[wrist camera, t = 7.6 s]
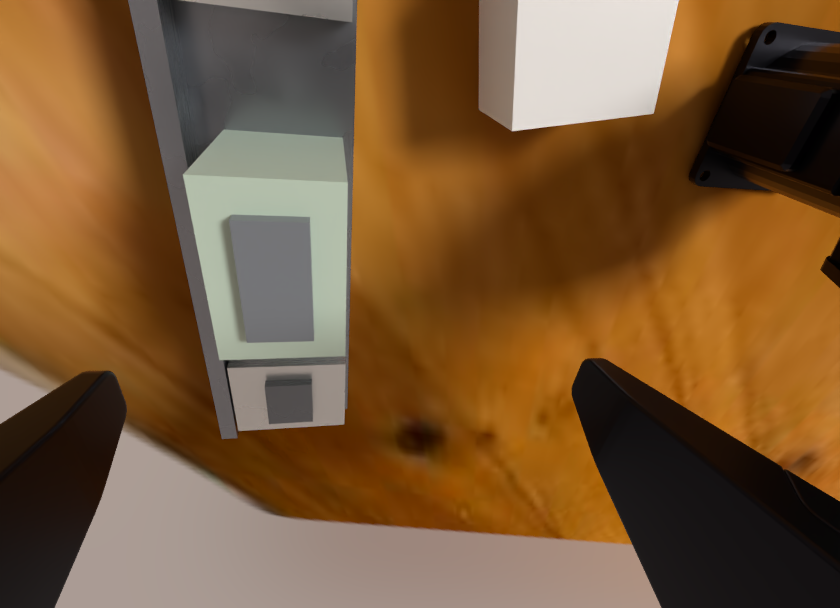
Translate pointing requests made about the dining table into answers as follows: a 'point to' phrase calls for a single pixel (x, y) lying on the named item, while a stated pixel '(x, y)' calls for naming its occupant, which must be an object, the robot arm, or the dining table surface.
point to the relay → (571, 59)
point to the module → (272, 243)
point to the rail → (259, 112)
